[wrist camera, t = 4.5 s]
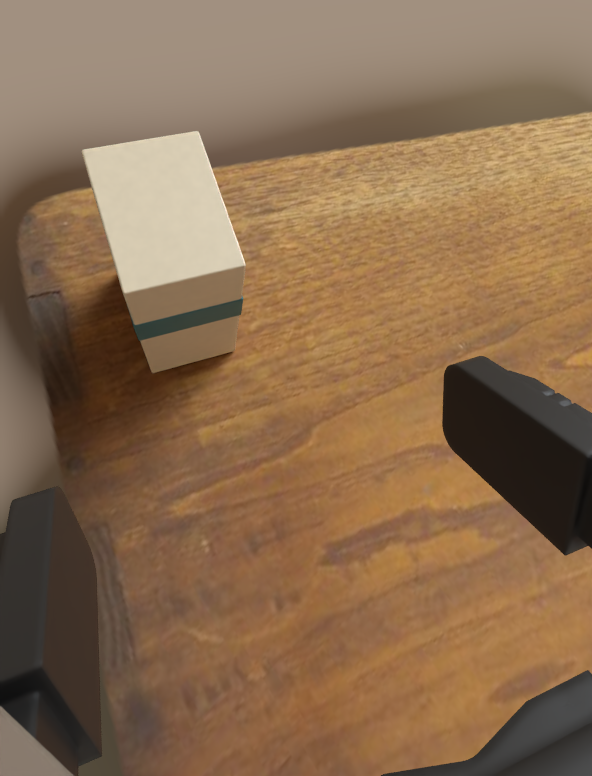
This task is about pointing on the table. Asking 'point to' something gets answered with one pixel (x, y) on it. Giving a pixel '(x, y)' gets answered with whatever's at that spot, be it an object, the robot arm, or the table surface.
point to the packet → (170, 246)
